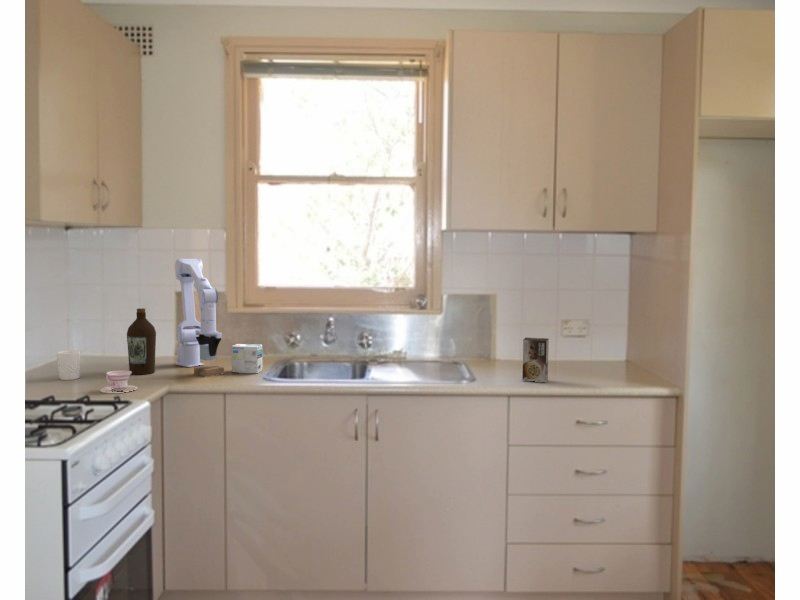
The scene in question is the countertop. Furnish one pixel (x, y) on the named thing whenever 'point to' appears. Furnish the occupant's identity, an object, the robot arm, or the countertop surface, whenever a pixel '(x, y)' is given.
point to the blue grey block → (206, 353)
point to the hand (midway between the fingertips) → (208, 355)
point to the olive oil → (141, 345)
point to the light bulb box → (247, 358)
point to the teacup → (118, 381)
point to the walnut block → (208, 370)
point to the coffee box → (535, 359)
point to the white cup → (69, 364)
